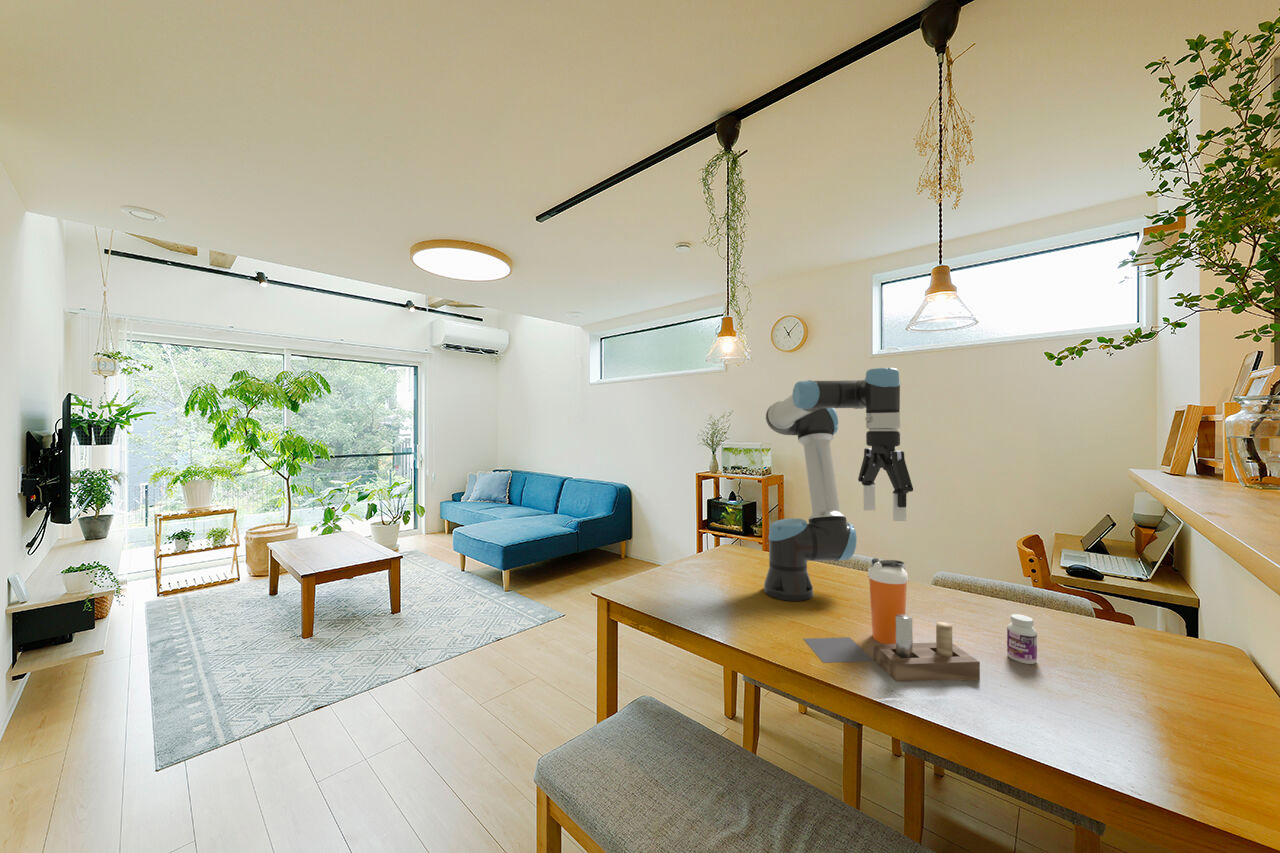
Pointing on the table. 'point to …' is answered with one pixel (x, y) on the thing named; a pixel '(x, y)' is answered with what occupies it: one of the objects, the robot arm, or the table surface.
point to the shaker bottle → (886, 597)
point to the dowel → (944, 639)
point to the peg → (904, 636)
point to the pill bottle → (1022, 639)
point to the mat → (837, 650)
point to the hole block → (927, 664)
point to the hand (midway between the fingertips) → (883, 515)
